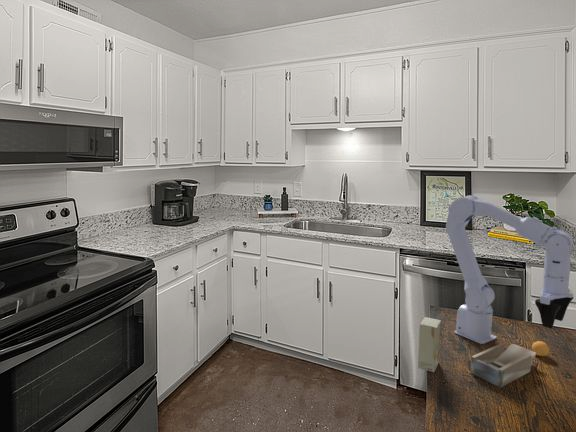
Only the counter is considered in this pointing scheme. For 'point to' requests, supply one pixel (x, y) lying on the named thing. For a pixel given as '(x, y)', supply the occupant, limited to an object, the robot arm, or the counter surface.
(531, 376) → the counter surface
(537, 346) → the ball
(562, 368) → the counter surface
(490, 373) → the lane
